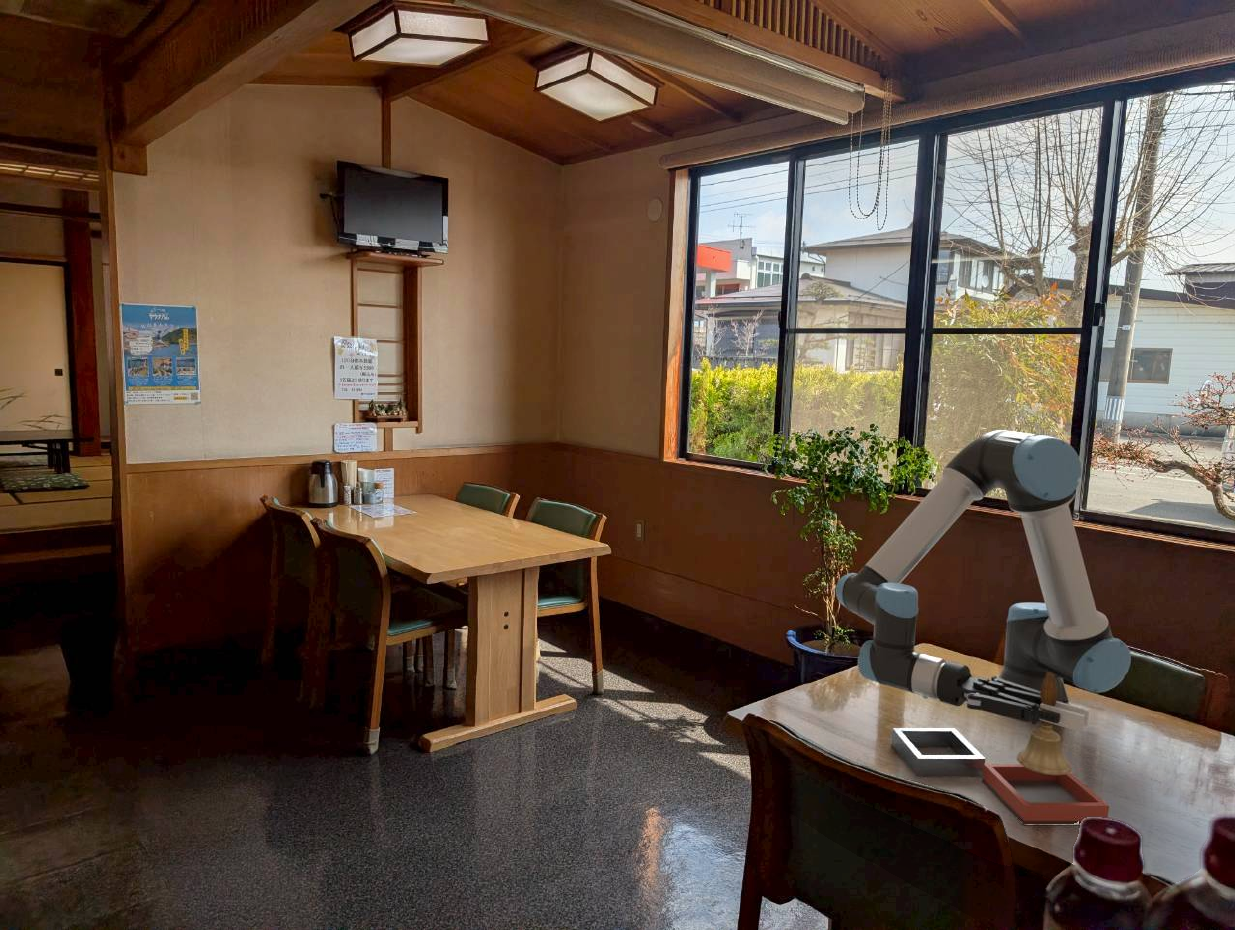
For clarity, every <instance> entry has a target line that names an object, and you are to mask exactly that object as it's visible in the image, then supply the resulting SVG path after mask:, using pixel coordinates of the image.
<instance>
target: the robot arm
mask: <svg viewBox="0 0 1235 930" xmlns="http://www.w3.org/2000/svg"><path fill="white" fill-rule="evenodd" d="M1081 478H1082V463H1081V459H1080V457H1079V455H1078V453H1077V451H1076V450H1075V449H1074V447H1072V445H1070V443H1068V442H1067V441H1065V440H1063V439H1061V438H1058V437H1053V436H1052V435H1048V434H1044V433H1042V434H1041V433H1027V432H1019V431H1013V430H1008V429H1003V430H1002V429H999V430H993V431H990V432H989V431H988V432H987V433H985V434H983V435H980V436H979V437H978V438H976V439H973V441H972V442H970V443H968V444H967V445H966V446H965V447H964V448H962V449H960V451H959V452H958V453H957V454H956V455H955V456H954V457H953V458H952V459H951V460H950V461H949V462H948V464H946V466H945V467H944V468H942V478H941V479H940V480H939V481H938V482H937V484H936V485H935V486H934V487H932V489H931V490H930V491H929V492H928V493H927V495H926V496H925V497H924V498H923V499H922V500H921V502H920V503H919V504H917V506H916V507H915V508H914V509H913V511H912V512H911V513H910V514H909V515H908V516H907V517H906V518H905V520H903V522H902V523H901V524H900V525H899V526H898V528H897V529H896V530H894V531H893V533H892V534H891V536H890V537H889V538H888V539H887V540H886V541H885V542H884V543H883V545H881V547H880V548H879V549H878V550H877V551H876V553H874V555H873V556H872V557H871V558H870V559H869V560H868V561H867V562H866V564H865V565H864V566H863V567H862V568H861V569H860V571H858V573H856V572H855V573H854V572H851V573H847V574H845V575H843V576H842V577H840V579H839V580H838V582H837V583H836V586H835V597H836V598H837V600H838V602H839V603H840V604H841V605H842V606H843V607H844V608H846V609H847V610H848V612H851V613H852V614H855V615H857V616H858V617H860V618H862V619H864V620H865V621H866V622H868V623H870V624H872V625H873V636H872V637H873V640H871V639H870V640H866V641H865V642H864V643H863V644H862V646H861V647H860V649H859V655H858V657H857V670H858V672H859V673H860V675H861V676H862V677H863V678H865V679H868V680H870V681H872V682H876V683H878V684H879V685H883V686H888V687H892V688H895V689H899V690H901V691H902V690H903V691H906V692H908V693H911V694H915V695H918V696H922V698H923V699H925V700H927V699H928V698H929V699H933V700H939V702H940V703H941V702H942V703H945V704H947V705H951V706H954V707H961V706H962V705H963V704H964V703H965V702H966V708H968V709H969V710H975V711H983V712H986V713H991V714H994V715H999V716H1002V717H1006V718H1011V719H1014V720H1018V721H1022V722H1026V723H1030V722H1031V724H1032V725H1037V724H1038V720H1039V721H1041V720H1042V721H1045V722H1048V723H1052V725H1056V726H1059V727H1062V728H1066V729H1068V730H1073V731H1076V732H1078V733H1083V732H1084V727H1088V726H1089V725H1088V724H1089V716H1090V709H1088V708H1084V707H1079V706H1077V705H1073V704H1070V701H1069V697H1068V695H1067V690H1066V686H1065V683H1064V680H1065V681H1067V682H1069V683H1071V684H1073V685H1075V686H1076V687H1077V688H1080V689H1084V690H1086V691H1089V692H1091V693H1105V692H1107V691H1110V690H1111V689H1113V688H1115V687H1117V686H1118V685H1119V684H1120V683H1121V682H1122V681H1123V680H1124V678H1125V676H1126V675H1127V674H1128V672H1129V669H1130V666H1131V662H1132V659H1131V657H1132V656H1131V651H1130V649H1129V647H1128V645H1127V644H1126V643H1125V642H1124V641H1122V640H1121V639H1120V638H1116V637H1114V636H1113V632H1112V630H1111V626H1110V623H1109V619H1108V618H1107V616H1106V615H1105V614H1104V613H1102V612H1100V611H1099V610H1097V608H1096V602H1095V599H1094V596H1093V592H1092V589H1091V584H1090V580H1089V577H1088V573H1087V570H1086V566H1085V562H1084V558H1083V555H1082V554H1083V553H1082V550H1081V548H1080V543H1079V539H1078V536H1077V532H1076V529H1075V525H1074V522H1073V518H1072V514H1071V509H1070V504H1071V503H1072V502H1073V500H1074V499H1075V491H1076V490H1077V488H1078V487H1079V484H1080V482H1079V481H1078V480H1079V479H1081ZM997 488H998V489H1001V490H1004V494H1005V496H1006V500H1007V503H1008V506H1009V508H1010V510H1011V511H1013V512H1015V513H1016V514H1018V515H1019V516H1020V518H1021V521H1022V525H1023V529H1024V532H1025V536H1026V539H1027V542H1028V546H1029V549H1030V554H1031V556H1032V558H1031V559H1032V560H1033V564H1034V568H1035V571H1036V575H1037V578H1038V583H1039V586H1040V590H1041V594H1042V597H1043V601H1044V602H1034V601H1033V602H1032V601H1031V602H1029V601H1028V602H1018V603H1017V602H1016V603H1014V604H1012V605H1011V606H1009V609H1008V615H1007V619H1006V629H1005V632H1006V633H1005V645H1004V660H1003V666H1002V670H1001V672H1000V674H999V676H997V675H992V676H990V677H991V678H990V679H989V678H987V677H984V676H983V677H982V676H980V677H975V676H973V675H972V674H971V670H970V668H969V666H967V665H965V664H962V663H957V662H955V661H951V660H949V661H946V660H945V659H944V658H941V657H936V656H933V655H930V654H925V653H921V652H916V651H915V643H916V642H915V638H916V630H917V621H918V614H919V593H918V590H917V589H916V588H915V587H913V586H912V585H909V584H904V583H902V582H903V581H904V580H905V579H906V577H908V575H909V574H910V573H911V572H912V570H913V569H914V568H916V566H917V565H918V564H919V562H921V560H922V559H923V558H924V557H925V556H926V555H927V554H928V553H929V552H930V550H931V549H932V548H933V547H934V546H935V545H936V543H938V542H939V540H940V539H941V538H942V537H943V536H944V535H945V533H946V532H948V530H949V529H950V528H951V527H952V525H953V524H954V523H955V522H956V521H957V520H958V519H959V518H960V516H962V514H963V513H964V512H965V511H966V510H967V509H968V508H969V506H970V505H971V504H972V503H974V501H980V500H981V501H982V499H984V497H985V496H987V495H988V494H989V493H990V492H991V491H992V490H994V489H997ZM1048 672H1050V673H1054V674H1055V678H1056V682H1057V686H1058V697H1057V701H1056V704H1055V706H1050V705H1047V704H1043V703H1042V702H1041V686H1042V683H1043V681H1044V679H1045V676H1046V673H1048Z"/></svg>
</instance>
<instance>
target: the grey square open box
mask: <svg viewBox="0 0 1235 930" xmlns="http://www.w3.org/2000/svg"><path fill="white" fill-rule="evenodd" d="M891 746H892V748H893V749H894V750H895V752H896V753H897V754H898V755H899V757H900V758H901V759H902V760H903V762H905V765H907V767H908V768H909V769H910V770H911V772H913V774H914V775H915V776H916V777H917V778H922V777H923V778H925V777H927V778H929V777H930V778H937V777H938V778H940V777H941V778H942V777H943V778H946V777H947V778H948V777H949V778H951V777H952V778H959V777H960V778H965V777H966V778H968V777H969V778H970V777H971V778H976V777H977V778H978V777H979V778H983V767H984V764H986V758H985V757H984V756H983V754H981V753H980V751H978V750H977V748H975V747H974V745H972V744H971V743H970V742H969V741H968V740H967V739H966V738H965V737H964V736H963V735H962V734H961V733H960V732H959V731H958V730H957V729H956V728H953V727H952V728H950V727H949V728H948V727H946V728H944V727H943V728H942V727H939V728H938V727H937V728H933V727H928V728H927V727H925V728H924V727H918V728H917V727H910V728H909V727H892V730H891ZM918 749H951V751H952V752H953V753H954V754H953V755H951V754H950V755H949V754H946V755H945V754H944V755H943V754H941V755H939V754H938V755H937V754H936V755H934V754H933V755H931V754H929V755H928V754H927V755H923V754H922V753H921V752H920V751H919V750H918Z"/></svg>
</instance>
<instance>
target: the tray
mask: <svg viewBox="0 0 1235 930" xmlns="http://www.w3.org/2000/svg"><path fill="white" fill-rule="evenodd" d="M981 778H982V780H981V781H982V783H983V785H984V786H986V788H988V790H989V791H991V792H992V794H993V795H994V796H995V797H996V798H997V799H998V800H999V801H1000V802H1001V803H1002V804H1003V805H1004V807H1006V809H1008V811H1010V813H1011V814H1012V815H1013V816H1014V815H1015V816H1014V817H1015V818H1016V817H1017V818H1018V819H1017V818H1016V819H1017V820H1018V821H1019V820H1020V821H1021V822H1022V823H1023V824H1074V823H1077V822H1078V821H1079V824H1080V823H1081V821H1082V820H1083V819H1084V818H1087V817H1102V818H1108V819H1109V812H1110V811H1109V810H1110V805H1109V804H1108V803H1107V802H1105V801H1104V800H1103V799H1102V798H1101V797H1100V796H1098V795H1097V794H1096V793H1095V792H1094V791H1092V789H1090V788H1089V787H1088V786H1087V785H1085V784H1084V783H1083V782H1082V781H1081V780H1079V779H1078V778H1077V777H1076V776H1074V775H1073V774H1072V773H1071V771H1070V772H1069V773H1068V774H1065V775H1048V774H1043V773H1039V772H1036V771H1033V770H1030V769H1028V768H1026V767H1024V766H1023V765H1021V764H1020V763H985V764H984V767H983V777H981ZM1020 821H1019V822H1020ZM1021 822H1020V823H1021ZM1022 823H1021V824H1022ZM1023 824H1022V825H1023Z"/></svg>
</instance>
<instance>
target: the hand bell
mask: <svg viewBox="0 0 1235 930" xmlns="http://www.w3.org/2000/svg"><path fill="white" fill-rule="evenodd" d="M1057 697H1058V686H1057V682H1056V678H1055V674H1054V673H1050V672H1048V673H1046V676H1045V679H1044V681H1043V683H1042V686H1041V702H1042V703H1043V704H1047V705H1050V706H1055V704H1056V701H1057ZM1040 722H1041V723H1040V724H1041V725H1040V727H1038V728H1034V729H1032V731H1030V737H1029V740H1028V743H1027V745H1026V746H1025V748H1024V749H1023V750H1020V751H1019V752H1018V753H1017V755H1016V760H1017V762H1018V764H1021V765H1023V766H1024V767H1026V768H1028V769H1030V770H1033V771H1036V772H1039V773H1043V774H1048V775H1065V774H1068V773H1069V772H1070V773H1071V771H1072V767H1071V764H1070V762H1068V760H1067V759H1066V758H1065V756H1064V754H1063V750H1062V749H1063V748H1062V738H1061V735H1060V734H1058V732H1056V731H1054V730H1053V726H1054V725H1053V724H1052V723H1048V722H1045V721H1042V720H1040Z"/></svg>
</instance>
